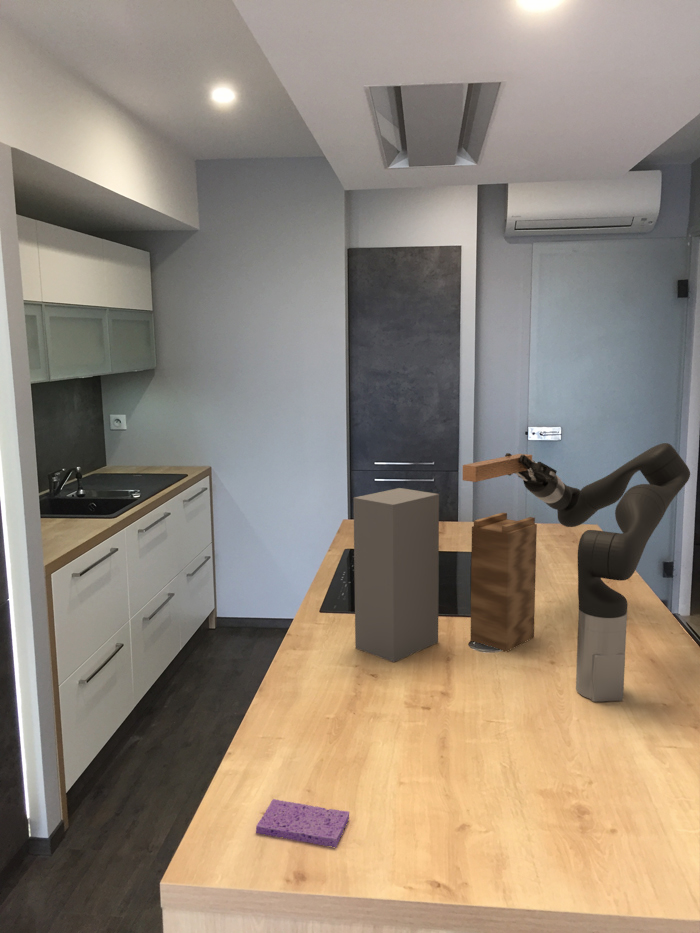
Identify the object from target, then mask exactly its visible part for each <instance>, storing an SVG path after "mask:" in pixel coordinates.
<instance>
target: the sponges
mask: <svg viewBox="0 0 700 933" xmlns="http://www.w3.org/2000/svg"><path fill="white" fill-rule="evenodd" d="M348 819H349V820H350V811H347V810H339V809H333V808H329V809H327V808H325V807H320V806H316V805H315V806H313V805H309V804H305V803H298V802H294V801H293V802H291V801H286V800H280V799H274V798H272V799H271V801H270V804H269V805H268V807H267V808H266V810H265V812H264V814H263V815H262V817H261V819H260V820H258V822H257V824H256V825H255V827H256V828H255V833H256V834H257V833H259V835H263V834H265V835H264V836H270V835H271V836H270V837H276V836H277V837H276V838H280V837H283V838H282V839H286V838H287V839H286V840H291V839H292V840H291V841H297V842H301V841H302V843H306V842H307V844H308V843H309V844H310V843H311V844H312V843H313V845H317V844H318V845H319V846H322V845H324V846H323V847H327V846H332V847H331V848H333V847H335V848H334V849H337V848H338V845H339V843H338V842H340V841H341V839H340V837H341V838H342V836H343V834H344V832H343V830H344V828H345V826H346V827H347V825H348V824H347V822H348V823H349V821H348ZM346 824H347V825H346ZM345 829H346V828H345ZM344 831H345V830H344ZM342 833H343V834H342ZM341 835H342V836H341ZM339 840H340V841H339ZM337 844H338V845H337Z"/></svg>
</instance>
